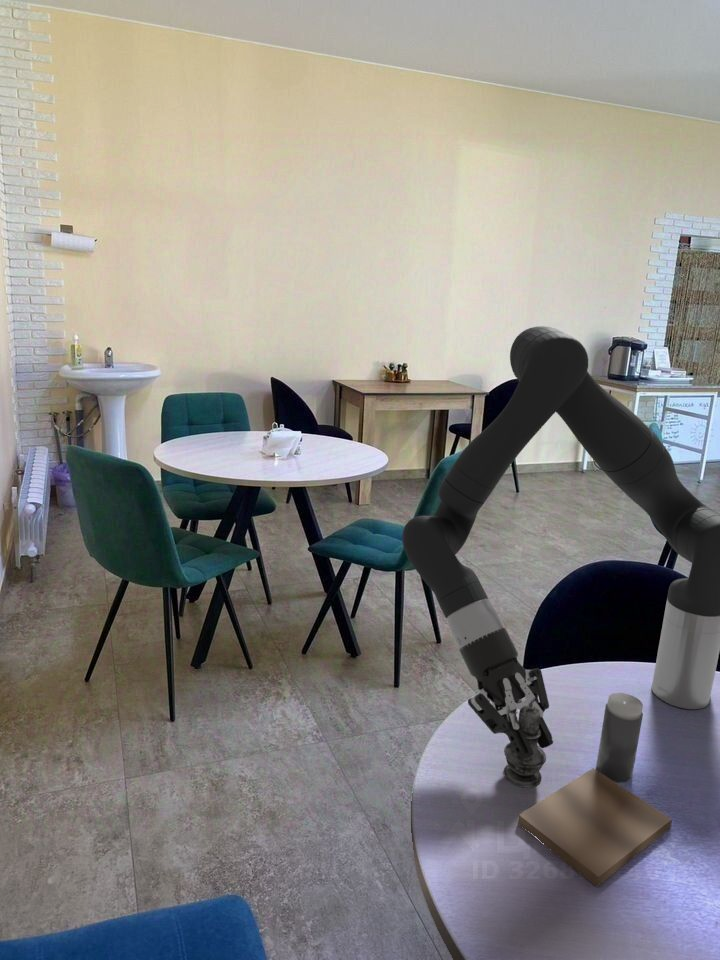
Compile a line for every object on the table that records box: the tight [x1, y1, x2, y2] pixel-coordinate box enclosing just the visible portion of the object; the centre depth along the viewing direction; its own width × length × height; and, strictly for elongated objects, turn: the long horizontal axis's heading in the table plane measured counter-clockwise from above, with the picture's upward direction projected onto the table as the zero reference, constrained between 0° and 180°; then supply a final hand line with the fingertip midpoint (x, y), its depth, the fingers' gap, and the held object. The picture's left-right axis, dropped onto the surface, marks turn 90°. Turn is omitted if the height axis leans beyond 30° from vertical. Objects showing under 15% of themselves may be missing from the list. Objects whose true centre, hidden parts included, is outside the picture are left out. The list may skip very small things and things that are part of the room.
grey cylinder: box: [595, 692, 644, 783], centre depth 102 cm, size 5×5×11 cm
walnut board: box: [517, 767, 673, 888], centre depth 92 cm, size 16×12×2 cm
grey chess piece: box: [503, 702, 547, 789], centre depth 100 cm, size 6×6×12 cm
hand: (537, 751), depth 99 cm, fingers closed on grey chess piece, 3 cm apart
